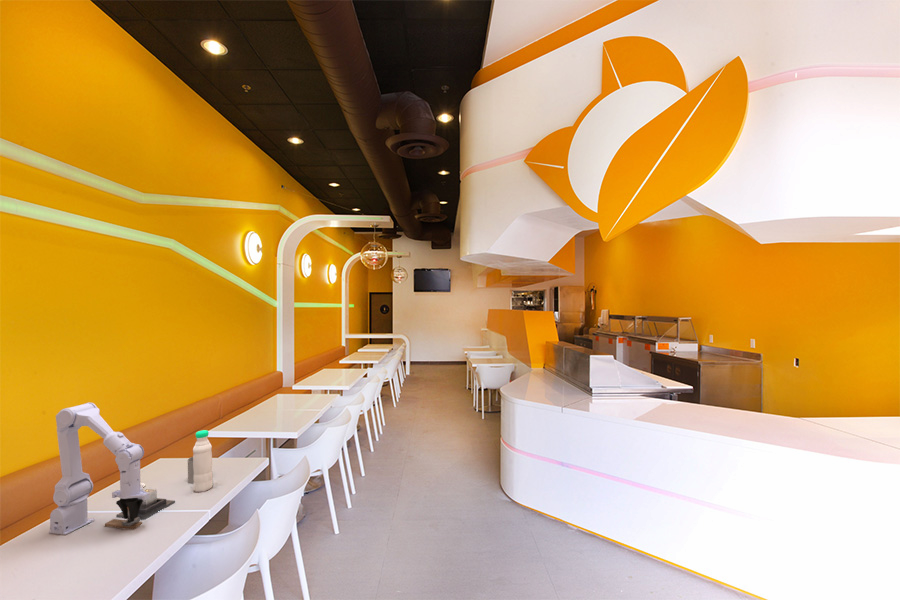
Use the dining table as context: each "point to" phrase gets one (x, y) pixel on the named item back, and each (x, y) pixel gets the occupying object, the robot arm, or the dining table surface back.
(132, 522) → the lever
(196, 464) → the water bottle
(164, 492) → the dining table surface
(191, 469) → the cup
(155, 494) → the block
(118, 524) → the rail
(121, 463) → the robot arm
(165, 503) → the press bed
